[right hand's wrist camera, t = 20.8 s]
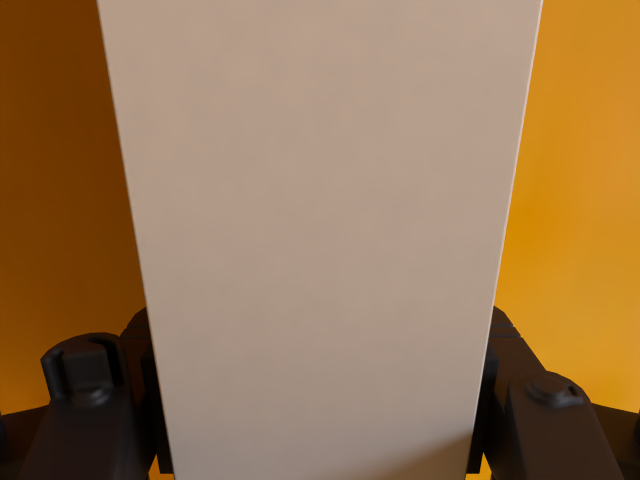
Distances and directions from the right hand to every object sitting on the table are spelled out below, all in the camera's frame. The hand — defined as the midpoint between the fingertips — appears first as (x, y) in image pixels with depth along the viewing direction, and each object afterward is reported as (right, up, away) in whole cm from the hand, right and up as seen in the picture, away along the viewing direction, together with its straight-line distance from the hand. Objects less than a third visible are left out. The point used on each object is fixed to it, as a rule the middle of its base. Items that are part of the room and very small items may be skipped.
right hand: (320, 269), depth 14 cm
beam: (0, +21, -8) cm, 23 cm away
